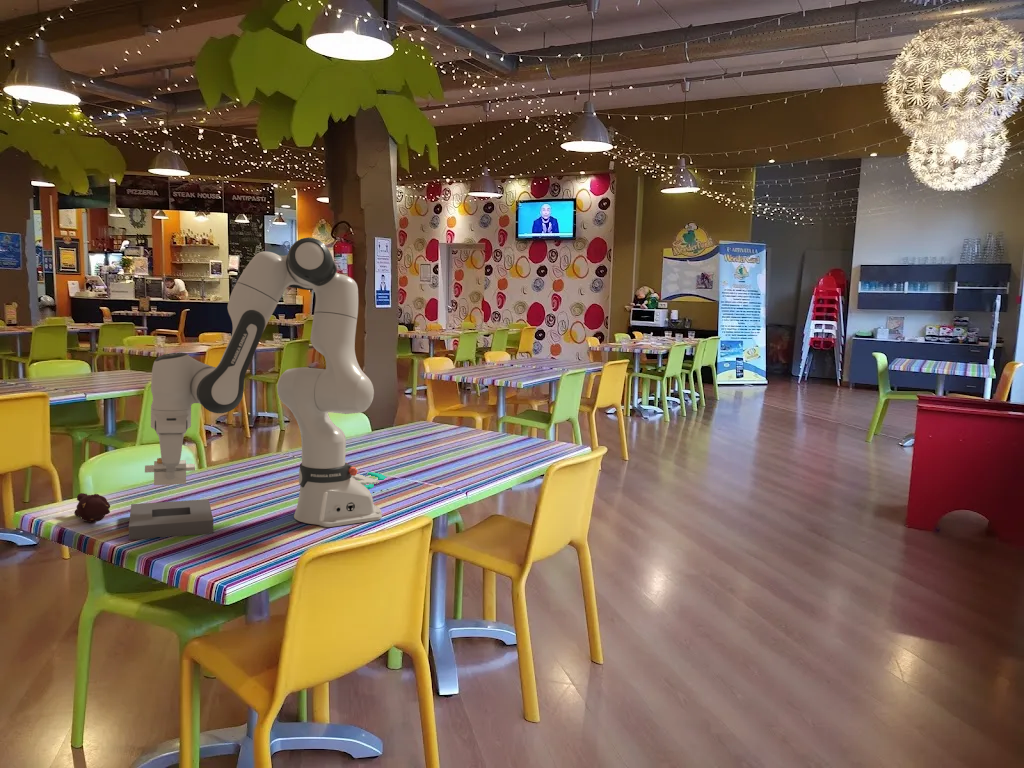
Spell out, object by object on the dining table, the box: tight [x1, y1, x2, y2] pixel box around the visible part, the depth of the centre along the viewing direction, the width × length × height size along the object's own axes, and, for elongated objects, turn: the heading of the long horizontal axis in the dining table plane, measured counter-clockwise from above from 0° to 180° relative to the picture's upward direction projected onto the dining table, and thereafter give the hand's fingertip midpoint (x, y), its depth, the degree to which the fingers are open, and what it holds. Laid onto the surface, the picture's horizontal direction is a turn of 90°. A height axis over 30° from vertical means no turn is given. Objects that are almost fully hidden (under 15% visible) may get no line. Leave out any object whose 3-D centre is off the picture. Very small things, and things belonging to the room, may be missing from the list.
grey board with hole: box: [128, 498, 214, 541], centre depth 182 cm, size 18×18×3 cm
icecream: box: [73, 492, 111, 524], centre depth 181 cm, size 7×7×15 cm
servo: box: [144, 457, 196, 486], centre depth 180 cm, size 11×4×6 cm, turn 115°
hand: (170, 475), depth 181 cm, fingers closed on servo, 4 cm apart
